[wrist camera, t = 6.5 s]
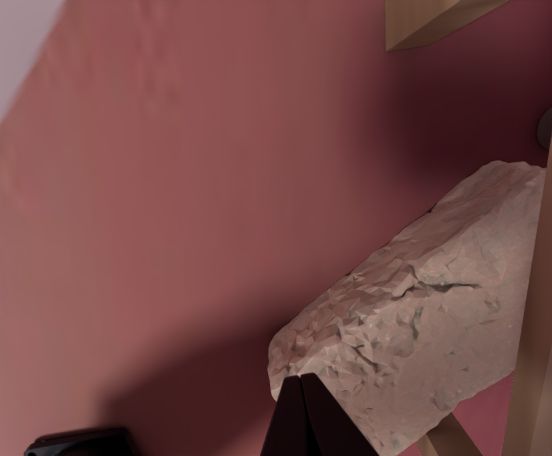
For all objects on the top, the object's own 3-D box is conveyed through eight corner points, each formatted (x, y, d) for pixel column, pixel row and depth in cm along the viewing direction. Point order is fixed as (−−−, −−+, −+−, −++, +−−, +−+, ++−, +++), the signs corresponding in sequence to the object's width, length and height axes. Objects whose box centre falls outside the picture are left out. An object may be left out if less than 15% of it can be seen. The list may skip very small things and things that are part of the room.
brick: (489, 150, 15) (592, 154, 10) (552, 255, 17) (659, 298, 12) (260, 333, 17) (260, 401, 13) (340, 404, 19) (365, 483, 15)
